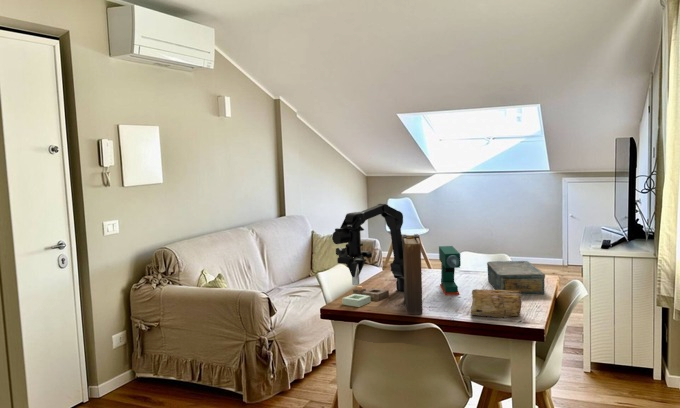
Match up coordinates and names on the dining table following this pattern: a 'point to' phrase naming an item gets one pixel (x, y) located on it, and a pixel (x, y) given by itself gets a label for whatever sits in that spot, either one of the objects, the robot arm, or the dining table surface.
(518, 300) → the petrified wood
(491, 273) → the metal box
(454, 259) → the power tool
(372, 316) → the dining table surface
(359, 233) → the robot arm
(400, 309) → the dining table surface
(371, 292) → the block
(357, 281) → the steel pin
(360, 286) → the button
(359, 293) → the button housing
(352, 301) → the block
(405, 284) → the decorative book
